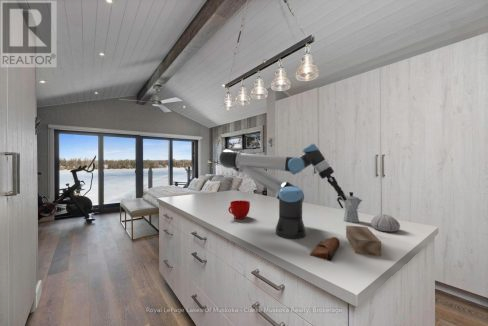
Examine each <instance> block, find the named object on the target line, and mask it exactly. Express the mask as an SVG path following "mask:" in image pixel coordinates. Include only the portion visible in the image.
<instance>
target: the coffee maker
mask: <svg viewBox="0 0 488 326" xmlns="http://www.w3.org/2000/svg"><path fill="white" fill-rule="evenodd" d="M346 196H347V195H346ZM347 198H348V199H349V201H350V202H351V204H352V205H350V206H348V207H347V206H346V205H345V204H344V206H343V204H342V202H341V201H342V199H341V198H340V196H337V199H336V201H337V203H338V205H339V206H340V208H341V209H343V208H344V207H345V209H344V216H343V221H344V222H346V223H351V224H358V223H359V222H360V220H359V214H358V209H359V205H360V204H361V203H362V202H363V199H360V198H359V197H356V196H354V192H352V191H349V195H348V196H347Z"/></svg>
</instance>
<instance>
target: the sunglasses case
mask: <svg viewBox="0 0 488 326" xmlns="http://www.w3.org/2000/svg"><path fill="white" fill-rule="evenodd" d="M340 244H341V243H340V239H339V238H338V237H337V236H335V237H330V238H327V239H324V240H321V241H319V243H317V245H316V246H315V247H314V248H313V249H312V251H310V253H309V257H310V256H311V257H314V258H318V259H323V260H325V261H329V262H330V261H332V259H333V257H334V255H335V253H336V252H337V250H338V247H339V246H340Z"/></svg>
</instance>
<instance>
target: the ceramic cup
mask: <svg viewBox="0 0 488 326" xmlns="http://www.w3.org/2000/svg"><path fill="white" fill-rule="evenodd" d="M229 204H230V205H229V207H228V209H227V210H228V212H229V213H230V214H231V215H232V216H233V217H234V218H235V219H237V220H238V219H240V220H242V219H246V217H247V216H248V215H249V213H250V207H251V203H250V201H248V200H233V201H232V200H231V201H230V203H229Z"/></svg>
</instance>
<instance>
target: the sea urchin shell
mask: <svg viewBox="0 0 488 326" xmlns="http://www.w3.org/2000/svg"><path fill="white" fill-rule="evenodd" d="M370 224H371V227H372V228H374V229H375V230H377V231H381V232H390V233H391V232H397V231H399V230H400V228H401V225H400V223H399V221H398V220H397V219H396V218H394V217H393V216H391V215H388V214H377V215H375V216H374V217H373V218H372V219H371V221H370Z"/></svg>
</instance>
